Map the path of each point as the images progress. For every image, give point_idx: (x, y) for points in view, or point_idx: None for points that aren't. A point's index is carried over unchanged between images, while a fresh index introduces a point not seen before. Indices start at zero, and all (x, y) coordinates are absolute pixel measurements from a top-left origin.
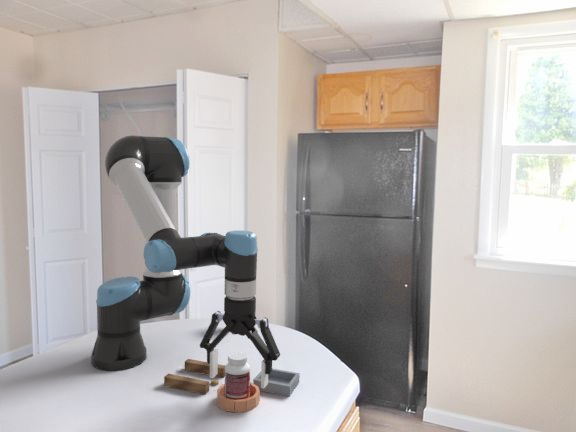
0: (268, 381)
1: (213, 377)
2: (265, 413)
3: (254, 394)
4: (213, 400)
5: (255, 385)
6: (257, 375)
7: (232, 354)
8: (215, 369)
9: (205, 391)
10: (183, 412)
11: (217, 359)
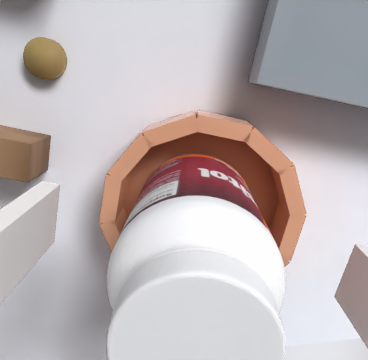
0: (345, 90)
1: (54, 230)
2: (320, 266)
3: (282, 240)
4: (98, 209)
5: (277, 152)
6: (274, 22)
7: (138, 333)
8: (40, 226)
9: (41, 172)
10: (25, 301)
11: (12, 227)
